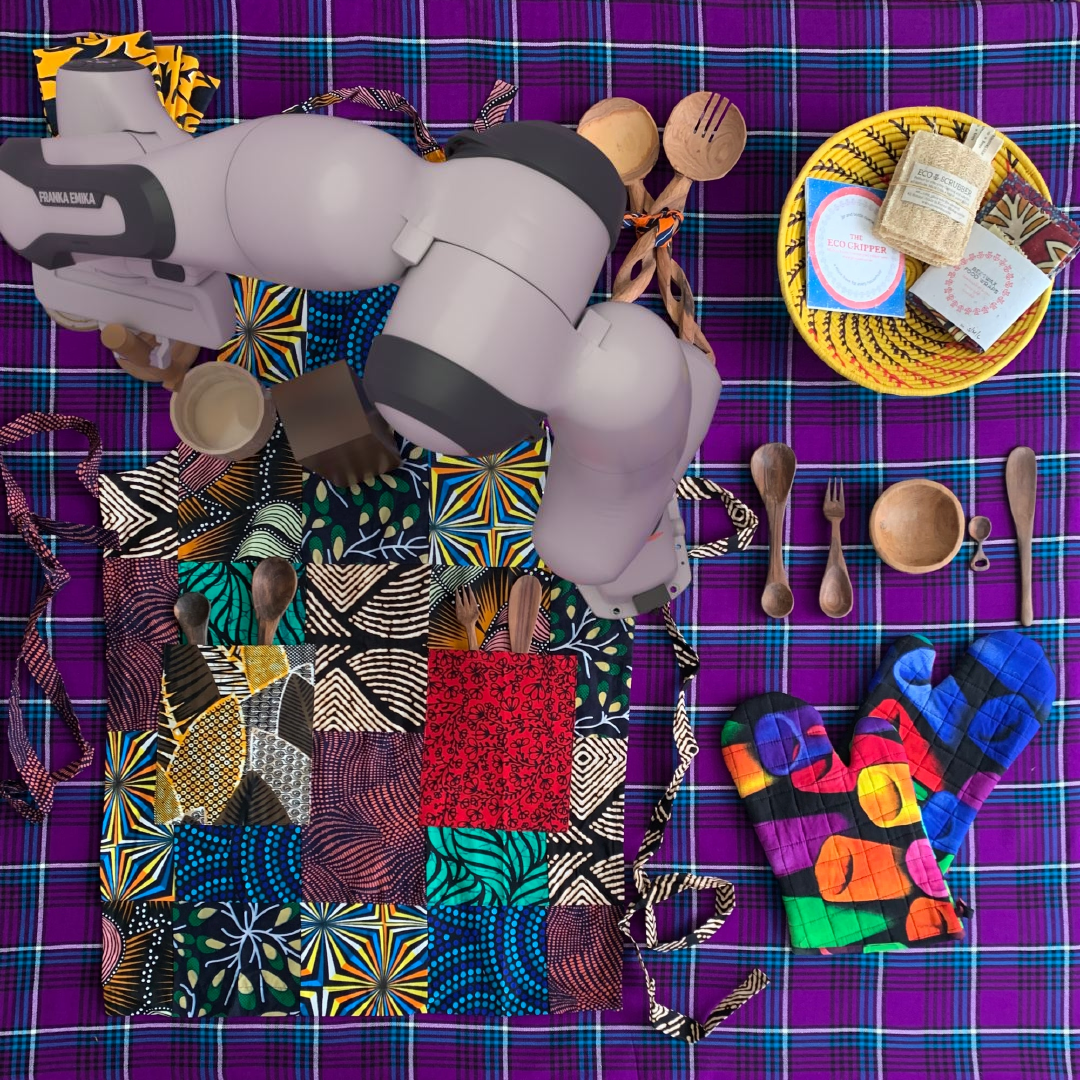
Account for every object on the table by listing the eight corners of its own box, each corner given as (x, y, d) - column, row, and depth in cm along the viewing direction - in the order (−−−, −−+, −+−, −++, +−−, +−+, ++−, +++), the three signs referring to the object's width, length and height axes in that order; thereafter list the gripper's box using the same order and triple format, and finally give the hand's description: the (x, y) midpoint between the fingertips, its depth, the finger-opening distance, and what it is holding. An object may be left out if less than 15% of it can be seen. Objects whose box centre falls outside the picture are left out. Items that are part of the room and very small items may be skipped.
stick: (172, 360, 107) (106, 315, 91) (193, 365, 107) (130, 321, 91) (164, 389, 106) (95, 349, 91) (185, 394, 106) (120, 356, 90)
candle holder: (221, 345, 124) (157, 293, 104) (148, 401, 124) (70, 359, 104) (167, 277, 125) (94, 212, 105) (95, 332, 125) (8, 277, 105)
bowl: (290, 443, 123) (276, 434, 117) (205, 475, 123) (187, 467, 117) (260, 360, 124) (245, 347, 118) (176, 392, 124) (157, 380, 118)
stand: (404, 465, 123) (372, 432, 101) (341, 489, 122) (295, 461, 100) (381, 404, 123) (344, 358, 101) (319, 427, 123) (268, 386, 101)
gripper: (4, 224, 87) (33, 352, 96) (210, 275, 86) (220, 398, 95) (44, 202, 91) (68, 325, 100) (239, 249, 91) (246, 369, 100)
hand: (143, 361), depth 98 cm, fingers closed on stick, 2 cm apart
